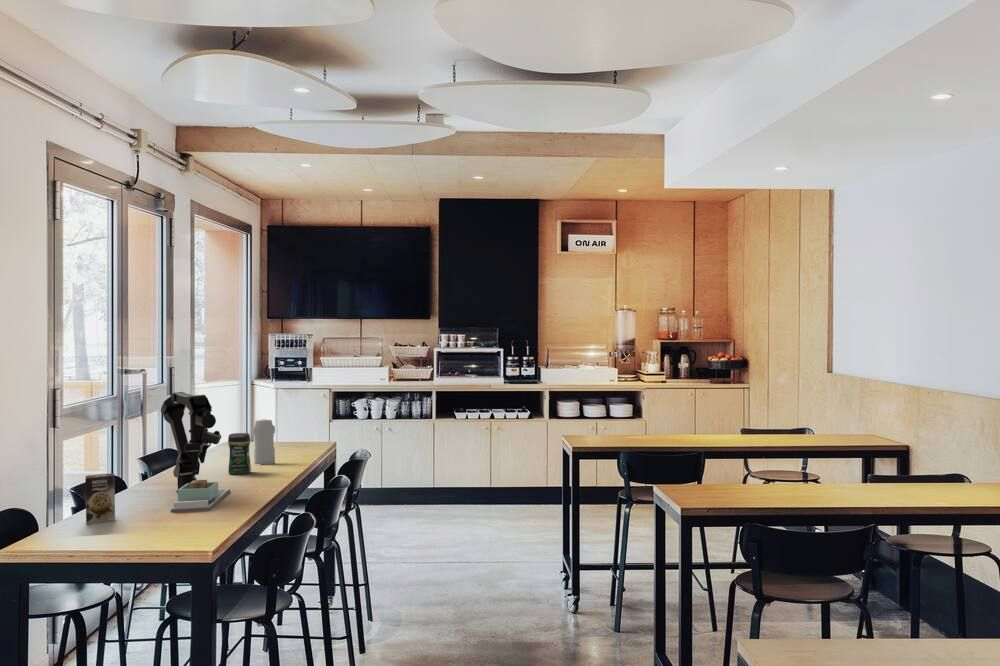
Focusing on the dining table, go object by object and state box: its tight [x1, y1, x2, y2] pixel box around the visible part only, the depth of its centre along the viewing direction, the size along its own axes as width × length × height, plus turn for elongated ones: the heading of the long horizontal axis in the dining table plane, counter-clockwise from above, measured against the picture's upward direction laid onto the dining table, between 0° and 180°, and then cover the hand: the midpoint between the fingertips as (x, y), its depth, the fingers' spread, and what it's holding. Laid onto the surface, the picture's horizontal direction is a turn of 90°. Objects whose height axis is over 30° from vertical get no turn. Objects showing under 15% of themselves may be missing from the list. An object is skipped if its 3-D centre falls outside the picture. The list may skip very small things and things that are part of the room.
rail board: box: [170, 487, 231, 513], centre depth 289 cm, size 14×30×3 cm, turn 7°
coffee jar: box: [227, 432, 252, 475], centre depth 344 cm, size 10×8×19 cm
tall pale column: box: [252, 418, 276, 465], centre depth 366 cm, size 11×4×22 cm, turn 96°
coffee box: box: [84, 472, 116, 525], centre depth 263 cm, size 9×6×16 cm
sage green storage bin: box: [177, 481, 219, 503], centre depth 285 cm, size 12×12×6 cm
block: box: [190, 479, 208, 489], centre depth 285 cm, size 5×5×5 cm
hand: (199, 465), depth 300 cm, fingers open, 9 cm apart
